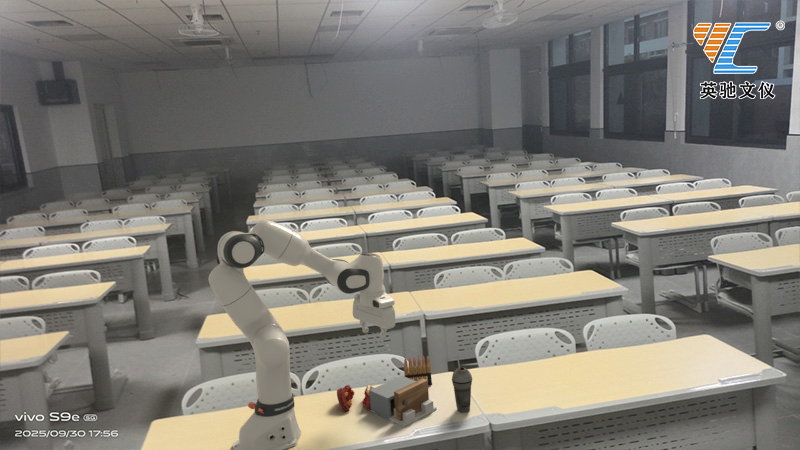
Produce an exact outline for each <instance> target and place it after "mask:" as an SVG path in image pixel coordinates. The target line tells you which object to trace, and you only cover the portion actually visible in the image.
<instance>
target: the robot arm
mask: <svg viewBox="0 0 800 450" xmlns="http://www.w3.org/2000/svg"><path fill="white" fill-rule="evenodd" d="M215 252H216V262H217V264H218V265H217V266H216V267H214V268H213V269H212V270H211V272H210V273H209V275H208V278H207V279H208V283H209V286H210V289H211V290H212V293H213V294H214V296H215V297H216V299H217V301H218V302H219V303H220V305H221V307H222V308H223V310H224V311H225V313H226V314H227V315H228V317H229V318H230V320H232V322H233V323H234V325H235V326H236V328H238V329H239V330H240V331H241V333H242V334H243V335H244V337H245V338H247V340H248V341H249V343H250V344H251V347H252V349H253V353H254V360H255V361H254V362H255V380H256V389H257V400H256V403H254V402H253V401H249V402H248V405H247V407H248V408H249V409H250V410H254V411H253V413H252V414H251V415H250V416H249V418H248V419H247V420H246V421H245V422H244V423H243V424H242V425H241V427H240V429H239V433H238V434H239V435H238V439H237V440H235V441H234V442H232V443H233V444H232V450H287V449H290V448H292V447H295V446H296V445H297V444H298V439H299V438H300V436H301V434H302V433H301V429H300V427H299V424H298V421H297V417H296V413H295V398H294V397H295V396H294V393H293V390H292V383H291V372H290V371H291V354H290V353H291V351H290V350H291V349H290V342H289V339H288V338H287V336H286V333H285V332H284V330H283V327H282V326H281V325H280V323H279V322H278V321H277V319H276V317H274V315H273V314H272V312H271V311H270V309H269V308H268V307H267V306H266V304H265V303H264V301H263V300H262V299H261V297H260V295H258V293H257V291H256V290H255V288H254V287H253V286H252V284H251V283H250V282H249V280H248V278H247V277H246V275H245V271H244V269H246V268H249V267H250V266H252V265H254V263H256V261H257V260H258V259H259V258H260V257H261V256H262V255H263V254H264V255H267V256H268V257H270V258H273V259H275V260H276V261H278V262H279V263H283V264H286V265H289V266H292V267H297V266H300V265H301V266H305V267H307V268H309V269H310V270H314V271H316V273H319V274H321V275H322V276H323V277H324V279H325V280H326V281H327V283H329V284H330V285H331V286H333V287H334V288H336V289H337V290H338V291H340V292H342V293H344V294H347V295H348V294H350V295H351V294H354V293H356V294H355V295H354V296H353V303H352V316H353V319H355V320H358V321H359V323H360V324H359V325H360V326H361V328H362V330H361V331H362V332H363V333H364V334H367V333H369V330H370V328H369V327H368V325H367V324H370V325H373V326H376V327H379V329H380V330H381V331H380V333H378V338H379V339H381V340H384V339H386V338H387V337H386V334H387V331H388V330H390V329H393V328H394V327H395V326H396V310H395V308H394V306H395V299H394V298H392V297H391V296H390V295H389V294H388V293H387V292H385V285H384V280H385V274H384V263H383V259H382V258H381V256H380V255H378V254H377V253H372V252H362V253H360V254H359V255H358V257H356V258H355V259H354V260H352V261H350V262H348V261H346V260H345V259H341V258H330V257H328V256H326V255H324V254H322V253H321V252H319V251H317V250H315V249H314V248H313V247H311V246H310V243H309V241H308V240H307V239H306V238H305V237H303V235H301V234H300V233H298V232H296V231H295V230H293V229H292V228H289V227H287V226H286V225H283V224H281V223H278V222H276V221H272V220H269V219H261V220H259V221H258V222H257V223H256V224H254V226H253V227H252V228H251V230H250V231H249V232H243V231H238V230H228V231H225V232H224V233H222V234H221V235H220V237H219V238H218V239H217V241H216V246H215Z"/></svg>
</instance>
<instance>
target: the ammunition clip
mask: <svg viewBox="0 0 800 450" xmlns="http://www.w3.org/2000/svg"><path fill="white" fill-rule="evenodd" d="M412 359H413V361H412ZM430 360H431V359H430V356H429V355H427V356H426V359H425V356H424V355H423V356H422V358H421V357H420V356H417V360H416V357H415V356H413V358H411V357H410V356H409V358H408V360H407V357H404V360H403V361H404V362H403V363H404V364H403V365H404V367H403V373H404V374H403V375H404V377H407V378H409V379H412V380H414V381H418V380H420V379H426V380H428V386H432V385H433V382H432V381H433V380H432V369H431V363H430V362H431V361H430Z"/></svg>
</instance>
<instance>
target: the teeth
mask: <svg viewBox="0 0 800 450" xmlns="http://www.w3.org/2000/svg"><path fill="white" fill-rule="evenodd" d="M373 388H374V386H373V385H370V384H369V385H368V384H367V386H366V388H365V389H364V393H363V394H364V398H363V400H362V402H361V403H362V405H363V406H364V409H365V410H366V411H370V412H372V411H371V405H370V392H369V390H371V389H373ZM354 396H355V391H354V390H353V389H352V387H351V385H350V384H348V385H347V384H346V385H345V386H344V387H340V388H338V389H337V390H336V397H337V401H338V404H339V407H340V409H341V411H342V413H345V412H347V411H349V410H350V409H351V407H352V405H353V403H352V400H353V398H354Z"/></svg>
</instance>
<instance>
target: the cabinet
mask: <svg viewBox="0 0 800 450" xmlns="http://www.w3.org/2000/svg"><path fill="white" fill-rule="evenodd" d="M414 382H416V381H414V379H413V380H412V379H409V378H407V377H405V376H403V375H400V376H398V377H396V378H394V379H391V380H389V381H387V382H385V383H383V384H381V385H378V386H376V387H373V389H371V390H369V392H370V405H371V411H370V412H372V413H374V414H376V415H378V416H381V417H382V418H385V419H387V420H389V421H391V422H393V423H395V424H397V425H399V426H401V427H406V426H408V425H410V424H412V423H414V422H416V421H418V420H419V419H422V418H423V417H426V416H428V415H429V414H431V413H433V412H435V411H437V407H436V406H434V401H433V400H431V399H429V400H427V401H425V402H423V403H421V409H422V410H421V411H420V412H418V413H416V414H415V410H413V409H409V410H407V411H405V412H403V420H402V421H399V420H397V419H396V413H395V399H394V392H395V391H397V390H399V389H401V388H403V387H405V386H407V385H410V384H412V383H414Z"/></svg>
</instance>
